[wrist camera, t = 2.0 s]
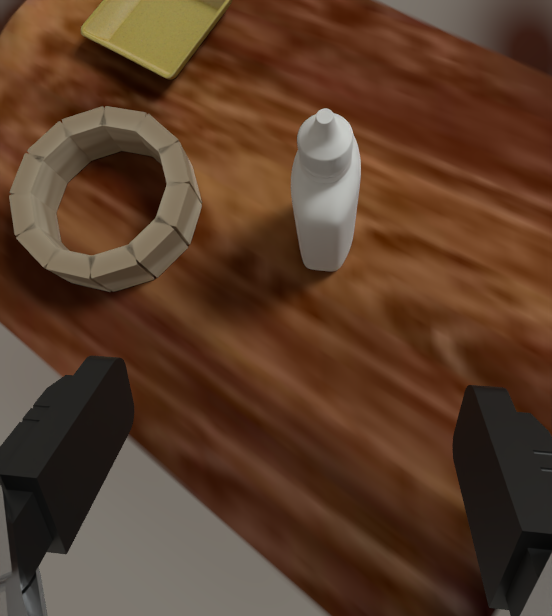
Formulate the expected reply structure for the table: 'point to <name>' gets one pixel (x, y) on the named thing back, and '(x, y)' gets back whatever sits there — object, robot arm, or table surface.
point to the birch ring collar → (69, 162)
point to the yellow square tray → (154, 30)
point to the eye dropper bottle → (325, 190)
